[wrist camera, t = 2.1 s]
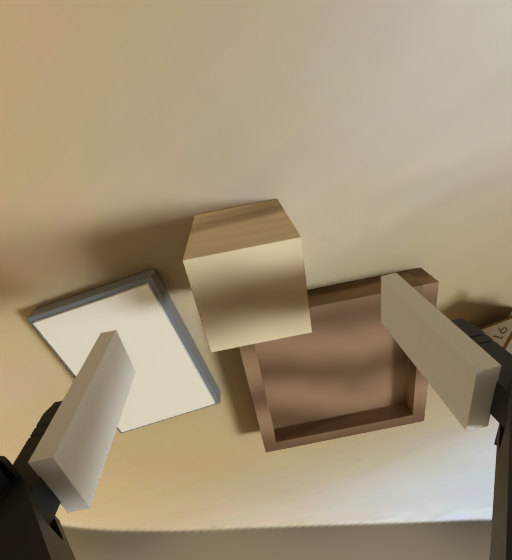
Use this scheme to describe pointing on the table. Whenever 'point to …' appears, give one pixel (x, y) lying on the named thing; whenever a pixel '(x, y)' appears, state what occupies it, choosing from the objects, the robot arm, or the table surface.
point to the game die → (500, 333)
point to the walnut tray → (337, 369)
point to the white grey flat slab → (134, 346)
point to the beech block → (247, 275)
